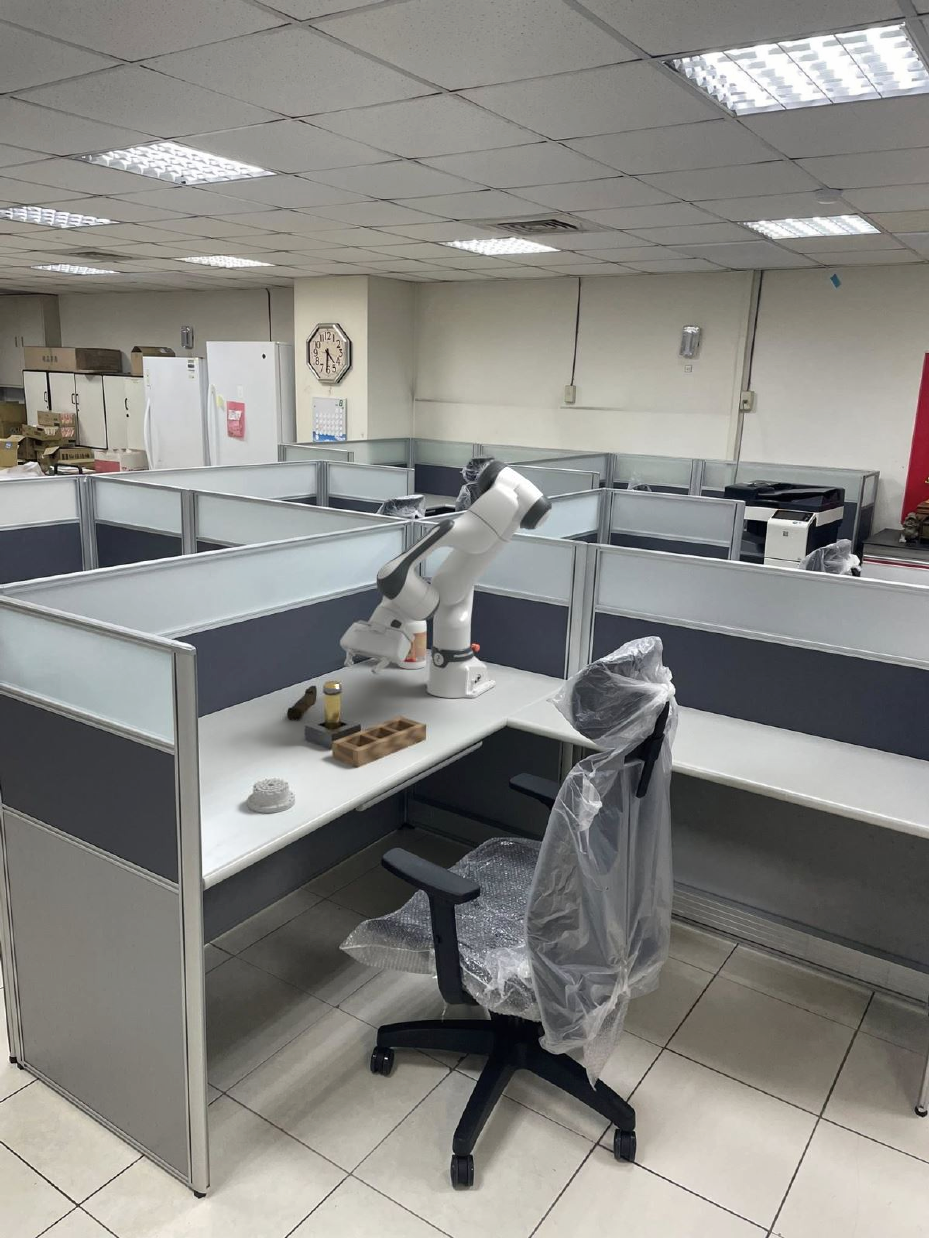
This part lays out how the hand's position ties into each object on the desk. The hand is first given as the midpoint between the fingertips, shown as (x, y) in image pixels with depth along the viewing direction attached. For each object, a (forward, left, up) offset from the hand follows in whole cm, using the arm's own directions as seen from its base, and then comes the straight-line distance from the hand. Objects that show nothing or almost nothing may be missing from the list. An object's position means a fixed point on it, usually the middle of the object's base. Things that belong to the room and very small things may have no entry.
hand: (360, 669), depth 230 cm
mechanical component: (+43, +17, -17) cm, 50 cm away
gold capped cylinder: (+10, 0, -16) cm, 19 cm away
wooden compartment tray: (+6, +13, -16) cm, 22 cm away
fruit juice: (-51, -29, -17) cm, 61 cm away
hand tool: (0, -23, -17) cm, 29 cm away
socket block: (+10, 0, -16) cm, 19 cm away
